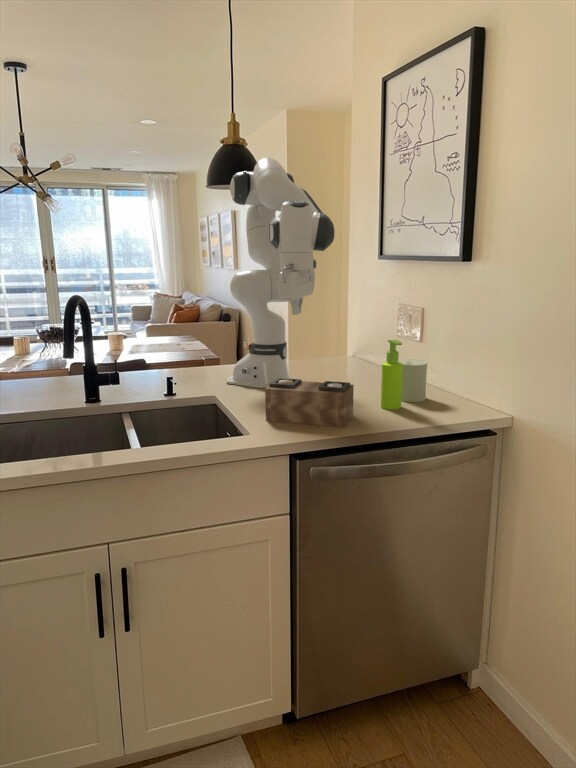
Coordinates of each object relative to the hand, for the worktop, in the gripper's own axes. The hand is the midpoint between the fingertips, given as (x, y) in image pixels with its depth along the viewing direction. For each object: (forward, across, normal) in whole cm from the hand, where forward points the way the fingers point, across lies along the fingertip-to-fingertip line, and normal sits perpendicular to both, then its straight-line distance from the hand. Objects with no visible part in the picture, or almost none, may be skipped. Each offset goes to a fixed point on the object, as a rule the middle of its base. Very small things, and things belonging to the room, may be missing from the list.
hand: (296, 314), depth 156 cm
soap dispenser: (+28, +12, -25) cm, 40 cm away
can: (+28, +24, -29) cm, 47 cm away
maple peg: (+26, -6, +1) cm, 27 cm away
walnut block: (+28, -6, -6) cm, 29 cm away
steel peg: (+26, -5, -13) cm, 29 cm away
